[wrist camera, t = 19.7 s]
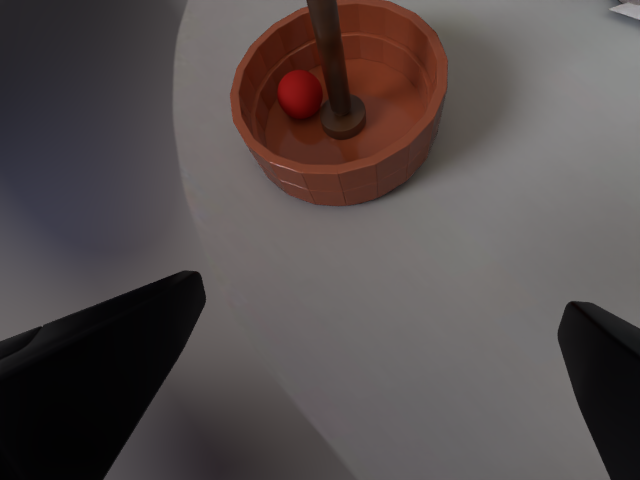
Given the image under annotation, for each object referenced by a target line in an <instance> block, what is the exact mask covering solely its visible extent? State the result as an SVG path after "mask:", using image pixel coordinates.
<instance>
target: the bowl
mask: <svg viewBox="0 0 640 480" xmlns="http://www.w3.org/2000/svg"><path fill="white" fill-rule="evenodd" d="M337 7H338V14H339V21H340V28H341V35H342V42H343V49H344V56H345V63H346V70H347V77H348V84H349V91H350V94H353V95H355V96H357V97H359V98H360V99H361V100H362V101H363V103H364V105H365V110H366V123H365V126H364V128H363V129H362V131H361V132H360V133H359V134H357V135H356V136H354V137H352V138H350V139H345V140H338V139H334V138H331V137H330V136H328V135H327V134H326V133H325V132H324V130H323V128H322V124H321V120H320V110H321V107H322V105H323V104H324V103H325V102H326V101H327V100H328V99H329V98H328V93H327V89H326V84H325V80H324V75H323V71H322V67H321V62H320V58H319V53H318V49H317V44H316V40H315V36H314V31H313V27H312V22H311V18H310V13H309V9H308V6H307V7H304V8H301V9H300V10H297V11H295V12H294V13H292V14H290V15H288V16H287V17H285V18H283V19H281V20H280V21H278V22H276V23H275V24H273V25H272V26H271V27H270V28H269V29H267V30H266V31H265V32H264V33H263V34H262V35H261V36H260V37H259V38H258V39H257V40H256V41H255V42H254V43H253V44H252V45H251V46H250V47H249V49H248V51H247V52H246V54H245V55H244V57H243V59H242V60H241V62H240V64H239V65H238V67H237V69H236V73H235V77H234V81H233V85H232V89H231V93H230V100H231V108H232V117H233V122H234V124H235V126H236V127H237V129H238V131H239V133H240V134H241V136H242V138H243V140H244V142H245V143H246V145H247V146H248V148H249V150H250V151H251V153H252V154H253V156H254V157H255V159H256V160H257V162H258V163H259V165H260V166H261V168H262V169H263V171H264V172H265V174H266V175H267V177H268V178H269V179H270V180H271V181H272V182H274V183H275V184H276V185H277V186H279V187H280V188H281V189H282V190H283V191H285V192H286V193H287V194H289V195H291V196H293V197H296V198H299V199H302V200H304V201H307V202H310V203H313V204H317V205H329V206H347V205H354V204H360V203H363V202H367V201H370V200H373V199H375V198H378V197H380V196H382V195H384V194H386V193H388V192H390V191H391V190H393V189H395V188H396V187H397V186H399V185H401V184H402V183H404V182H405V181H407V180H408V179H409V178H410V177H411V176H412V174H413V173H414V172H415V171H416V170H417V169H418V168H419V167H420V166H421V165H422V163H423V162H424V161H425V160H426V158H427V157H428V154H429V152H430V150H431V147H432V145H433V143H434V140H435V138H436V136H437V133H438V128H439V124H440V119H441V115H442V110H443V105H444V101H445V96H446V92H447V80H448V59H447V56H446V54H445V51H444V49H443V47H442V44H441V42H440V40H439V37H438V35H437V34H436V32H435V31H434V30H433V29H432V28H431V27H430V26H429V25H428V24H427V23H426V22H425V21H424V20H423V19H422V18H421V17H420V16H418V15H417V14H416V13H414V12H412V11H410V10H408V9H405V8H403V7H401V6H399V5H397V4H394V3H392V2H390V1H385V0H337ZM294 70H305V71H308V72H310V73H312V74H313V75H314V76H315V77H316V78H317V79H318V80H319V82H320V84H321V87H322V91H323V99H322V103H321V106H320V108H319V109H318V111H317V112H316V113H315V114H314V115H312V116H311V117H308V118H305V119H296V118H293V117H291V116H289V115H287V114H286V113H285V112H284V111H283V110H282V108H281V107H280V105H279V102H278V97H277V90H278V86H279V83H280V81H281V80H282V78H283V77H284V76H285V75H286V74H287V73H289V72H291V71H294Z"/></svg>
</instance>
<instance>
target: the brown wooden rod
mask: <svg viewBox="0 0 640 480" xmlns="http://www.w3.org/2000/svg"><path fill="white" fill-rule="evenodd" d="M307 5H308V9H309V13H310V18H311V22H312V27H313V31H314V36H315V40H316V44H317V49H318V53H319V58H320V62H321V67H322V71H323V75H324V80H325V84H326V89H327V93H328V98H329V99H328V100H327V101H326V102H325V103H324V104H323V105H322V107H321V110H320V120H321V124H322V128H323V130H324V132H325V133H326V134H327V135H328V136H330V137H331V138H334V139H338V140H345V139H350V138H352V137H354V136H356V135H357V134H359V133H360V132H361V131H362V129H363V128H364V126H365V123H366V110H365V105H364V103H363V101H362V100H361V99H360V98H359V97H357V96H355V95H353V94H350V91H349V84H348V77H347V70H346V63H345V56H344V49H343V42H342V35H341V28H340V21H339V14H338V7H337V0H307Z"/></svg>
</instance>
